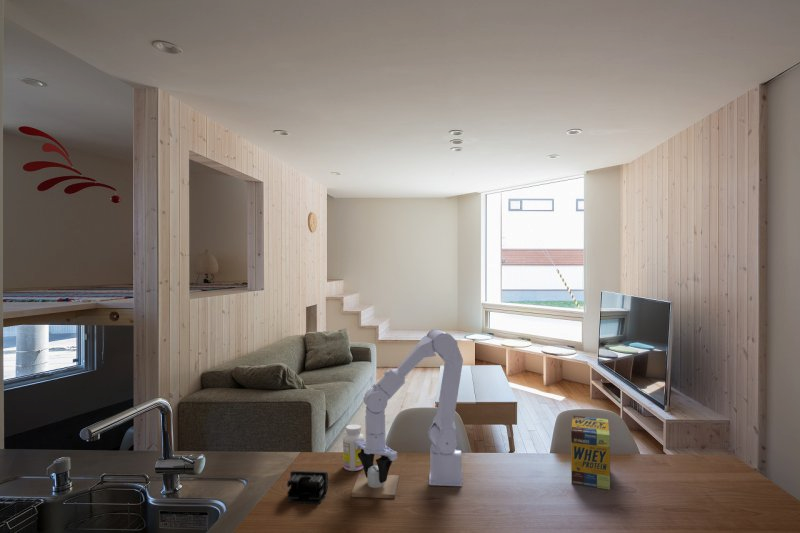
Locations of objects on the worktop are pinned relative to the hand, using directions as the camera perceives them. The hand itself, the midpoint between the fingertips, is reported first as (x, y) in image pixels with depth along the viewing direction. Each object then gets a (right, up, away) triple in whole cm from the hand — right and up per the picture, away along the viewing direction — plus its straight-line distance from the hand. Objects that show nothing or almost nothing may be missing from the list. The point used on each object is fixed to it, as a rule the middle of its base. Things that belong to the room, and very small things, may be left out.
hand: (376, 479), depth 137 cm
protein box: (+64, -2, +6) cm, 64 cm away
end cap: (-19, -3, -5) cm, 20 cm away
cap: (0, -1, 0) cm, 1 cm away
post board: (0, -2, 0) cm, 2 cm away
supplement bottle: (-8, -3, +14) cm, 16 cm away
